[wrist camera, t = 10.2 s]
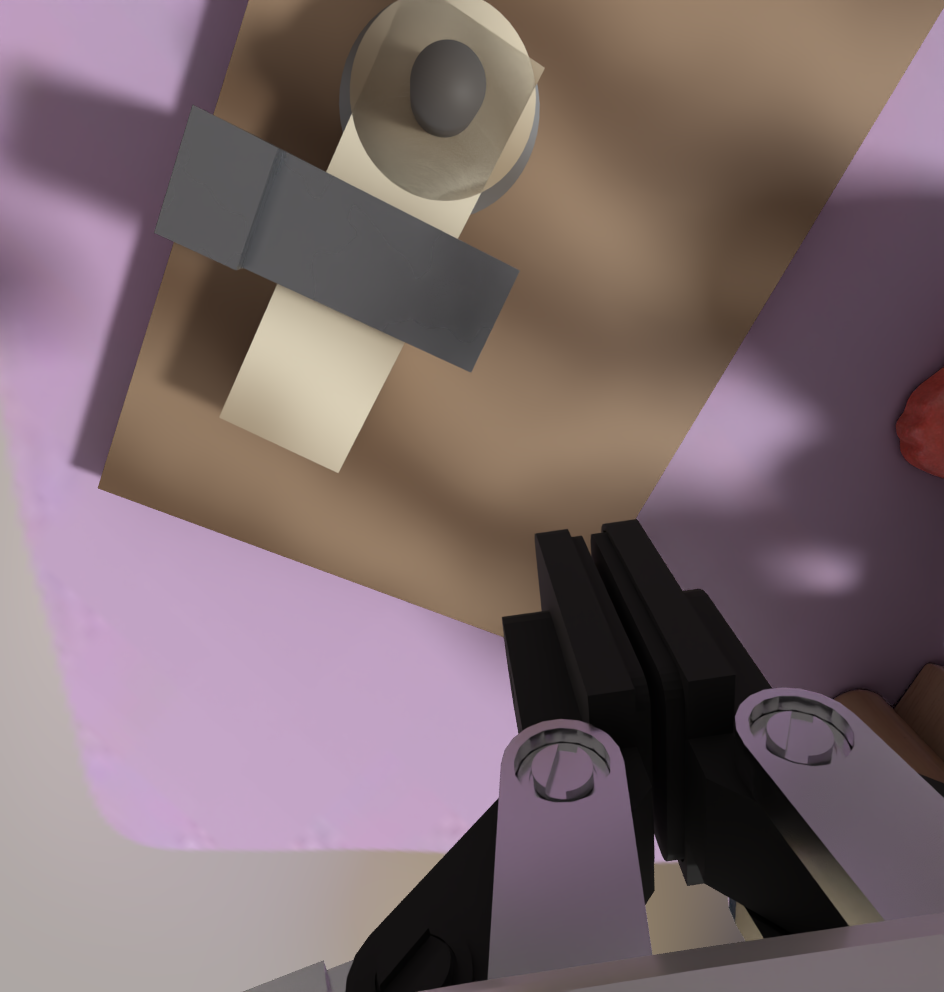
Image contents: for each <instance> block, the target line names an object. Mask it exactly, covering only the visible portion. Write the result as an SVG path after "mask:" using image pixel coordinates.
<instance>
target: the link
mask: <svg viewBox="0 0 944 992" xmlns="http://www.w3.org/2000/svg"><path fill="white" fill-rule="evenodd" d="M544 69H545V68H544V67H543V66H541V65H540V64H538V63H537V62H535V61H534V60H533V59H531V58H530V57H529V56H528V54H527V51H526V49H525V46H524V44H523V42H522V41H521V39H520V37H519V35H518V33H517V32H516V31H515V29H514V28H513V27H512V25H511V24H510V22H509V21H508V20H507V19H506V18H505V17H504V16H503V15H502V14H501V13H500V12H499V11H498V10H496V9H495V8H494V7H493V6H491V5H490V4H489V3H487V2H485V1H484V0H398V1H396V2H394V3H393V4H391V5H390V6H389V7H388V8H387V9H385V10H384V11H383V12H382V13H381V14H380V15H379V16H378V17H377V18H376V19H375V21H374V22H373V23H372V24H371V26H370V27H369V29H368V30H367V32H366V33H365V35H364V37H363V39H362V41H361V43H360V45H359V47H358V50H357V53H356V56H355V58H354V63H353V67H352V72H351V80H350V104H351V112H352V114H351V116H350V119H349V121H348V123H347V126H346V128H345V130H344V132H343V135H342V137H341V139H340V142H339V144H338V146H337V148H336V151H335V153H334V155H333V158H332V160H331V162H330V165H329V167H328V169H327V171H326V172H327V173H329V174H331V175H333V176H335V177H337V178H339V179H341V180H343V181H345V182H347V183H349V184H351V185H353V186H355V187H357V188H359V189H361V190H363V191H365V192H367V193H369V194H371V195H372V196H374V197H376V198H378V199H380V200H382V201H384V202H386V203H388V204H390V205H392V206H394V207H396V208H398V209H400V210H402V211H404V212H406V213H408V214H410V215H412V216H414V217H416V218H418V219H420V220H422V221H424V222H426V223H428V224H430V225H432V226H434V227H436V228H437V229H439V230H441V231H443V232H445V233H447V234H449V235H451V236H453V237H455V238H457V239H458V237H459V235H460V234H461V232H462V230H463V228H464V226H465V224H466V222H467V220H468V218H469V216H470V214H471V212H472V210H473V208H474V206H475V204H476V202H477V200H478V198H479V196H480V194H481V193H482V192H483V191H485V190H487V189H489V188H491V187H492V186H493V185H495V184H496V183H497V182H498V181H500V180H501V179H502V178H503V177H504V176H505V175H506V174H507V173H508V172H509V171H510V170H511V168H512V167H513V166H514V164H515V163H516V162H517V160H518V159H519V157H520V155H521V154H522V152H523V150H524V148H525V146H526V143H527V141H528V139H529V136H530V132H531V129H532V126H533V121H534V115H535V105H536V90H535V86H536V85H537V83H538V81H539V79H540V77H541V75H542V73H543V71H544ZM404 343H405V342H403V341H401V340H399V339H397V338H394V337H392V336H390V335H388V334H386V333H383V332H381V331H379V330H377V329H375V328H373V327H370V326H368V325H366V324H364V323H362V322H360V321H357V320H355V319H353V318H351V317H349V316H347V315H344V314H342V313H340V312H338V311H336V310H334V309H331V308H329V307H327V306H325V305H323V304H321V303H318V302H316V301H314V300H312V299H310V298H307V297H305V296H303V295H301V294H299V293H297V292H294V291H292V290H290V289H288V288H286V287H284V286H281V285H279V284H277V286H276V288H275V291H274V293H273V295H272V297H271V300H270V302H269V304H268V307H267V309H266V311H265V313H264V316H263V318H262V320H261V323H260V325H259V327H258V330H257V332H256V334H255V336H254V339H253V341H252V343H251V346H250V348H249V350H248V352H247V355H246V357H245V359H244V362H243V364H242V366H241V368H240V371H239V373H238V375H237V378H236V380H235V382H234V385H233V387H232V389H231V391H230V394H229V396H228V398H227V401H226V403H225V405H224V407H223V410H222V412H221V414H220V417H219V418H221V419H223V420H225V421H228V422H230V423H232V424H234V425H236V426H238V427H240V428H243V429H245V430H247V431H249V432H251V433H253V434H255V435H258V436H260V437H262V438H264V439H266V440H268V441H270V442H273V443H275V444H277V445H279V446H281V447H283V448H285V449H288V450H290V451H292V452H294V453H296V454H298V455H300V456H303V457H305V458H307V459H309V460H311V461H313V462H315V463H318V464H320V465H322V466H324V467H326V468H328V469H330V470H333V471H335V472H337V473H339V471H340V469H341V467H342V465H343V463H344V461H345V459H346V457H347V455H348V453H349V451H350V449H351V447H352V445H353V443H354V441H355V439H356V437H357V435H358V433H359V432H360V430H361V428H362V426H363V424H364V422H365V420H366V418H367V416H368V414H369V412H370V410H371V408H372V406H373V404H374V402H375V400H376V398H377V396H378V394H379V392H380V390H381V388H382V386H383V384H384V383H385V381H386V379H387V377H388V375H389V373H390V371H391V369H392V367H393V365H394V363H395V361H396V359H397V357H398V355H399V353H400V351H401V349H402V347H403V345H404Z"/></svg>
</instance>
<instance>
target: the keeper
mask: <svg viewBox="0 0 944 992" xmlns="http://www.w3.org/2000/svg"><path fill="white" fill-rule="evenodd" d="M154 233H156V234H158V235H160V236H162V237H164V238H166V239H169V240H171V241H173V242H175V243H177V244H180V245H182V246H184V247H186V248H188V249H190V250H193V251H195V252H197V253H199V254H201V255H204V256H206V257H208V258H210V259H212V260H214V261H217V262H219V263H221V264H223V265H225V266H228V267H230V268H232V269H234V270H239V269H242V268H245V269H247V270H249V271H251V272H253V273H255V274H258V275H260V276H262V277H264V278H266V279H268V280H271V281H273V282H275V283H277V284H279V285H281V286H284V287H286V288H288V289H290V290H292V291H294V292H297V293H299V294H301V295H303V296H305V297H307V298H310V299H312V300H314V301H316V302H318V303H321V304H323V305H325V306H327V307H329V308H331V309H334V310H336V311H338V312H340V313H342V314H344V315H347V316H349V317H351V318H353V319H355V320H357V321H360V322H362V323H364V324H366V325H368V326H370V327H373V328H375V329H377V330H379V331H381V332H383V333H386V334H388V335H390V336H392V337H394V338H397V339H399V340H401V341H403V342H405V343H407V344H410V345H412V346H414V347H416V348H418V349H420V350H423V351H425V352H427V353H429V354H431V355H433V356H436V357H438V358H440V359H442V360H444V361H446V362H449V363H451V364H453V365H455V366H457V367H459V368H462V369H464V370H466V371H468V372H470V373H471V372H472V370H473V368H474V366H475V364H476V362H477V360H478V357H479V355H480V353H481V351H482V349H483V347H484V345H485V343H486V341H487V339H488V336H489V334H490V332H491V330H492V328H493V326H494V324H495V322H496V320H497V318H498V316H499V313H500V311H501V309H502V307H503V305H504V303H505V301H506V299H507V297H508V295H509V293H510V290H511V288H512V286H513V284H514V282H515V280H516V278H517V276H518V274H519V272H520V270H518V269H516V268H514V267H512V266H510V265H508V264H506V263H504V262H502V261H500V260H499V259H497V258H495V257H493V256H491V255H489V254H487V253H485V252H483V251H481V250H479V249H477V248H475V247H473V246H471V245H469V244H467V243H465V242H463V241H461V240H459V239H457V238H455V237H453V236H451V235H449V234H447V233H445V232H443V231H441V230H439V229H437V228H436V227H434V226H432V225H430V224H428V223H426V222H424V221H422V220H420V219H418V218H416V217H414V216H412V215H410V214H408V213H406V212H404V211H402V210H400V209H398V208H396V207H394V206H392V205H390V204H388V203H386V202H384V201H382V200H380V199H378V198H376V197H374V196H372V195H371V194H369V193H367V192H365V191H363V190H361V189H359V188H357V187H355V186H353V185H351V184H349V183H347V182H345V181H343V180H341V179H339V178H337V177H335V176H333V175H331V174H329V173H327V172H325V171H323V170H321V169H319V168H317V167H315V166H313V165H311V164H310V163H309V162H307V161H305V160H303V159H301V158H299V157H297V156H295V155H293V154H291V153H289V152H287V151H285V150H283V149H281V148H279V147H277V146H275V145H273V144H271V143H269V142H267V141H265V140H263V139H261V138H259V137H257V136H255V135H253V134H251V133H250V132H248V131H246V130H244V129H241V128H239V127H237V126H235V125H233V124H231V123H229V122H227V121H225V120H223V119H221V118H219V117H217V116H215V115H213V114H211V113H209V112H207V111H205V110H203V109H201V108H199V107H197V106H194V105H192V108H191V112H190V115H189V118H188V122H187V125H186V128H185V132H184V135H183V138H182V142H181V145H180V149H179V152H178V155H177V159H176V162H175V165H174V169H173V172H172V175H171V179H170V182H169V185H168V189H167V192H166V195H165V199H164V202H163V205H162V209H161V212H160V215H159V219H158V222H157V225H156V229H155V232H154Z"/></svg>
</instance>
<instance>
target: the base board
mask: <svg viewBox="0 0 944 992" xmlns="http://www.w3.org/2000/svg"><path fill="white" fill-rule="evenodd" d="M396 1H398V0H249V1H248V4H247V8H246V11H245V14H244V17H243V21H242V24H241V27H240V30H239V33H238V37H237V40H236V43H235V46H234V50H233V53H232V56H231V59H230V63H229V66H228V69H227V72H226V75H225V79H224V82H223V85H222V88H221V92H220V95H219V98H218V101H217V104H216V108H215V111H214V114H213V115H215V116H217V117H219V118H221V119H223V120H225V121H227V122H229V123H231V124H233V125H235V126H237V127H239V128H241V129H244V130H246V131H248V132H250V133H251V134H253V135H255V136H257V137H259V138H261V139H263V140H265V141H267V142H269V143H271V144H273V145H275V146H277V147H279V148H281V149H283V150H285V151H287V152H289V153H291V154H293V155H295V156H297V157H299V158H301V159H303V160H305V161H307V162H309V163H310V164H311V165H313V166H315V167H317V168H319V169H321V170H323V171H325V172H326V171H327V169H328V167H329V165H330V162H331V160H332V158H333V155H334V153H335V151H336V148H337V146H338V144H339V142H340V139H341V137H342V135H343V132H344V130H345V128H346V126H347V123H348V121H349V119H350V116H351V114H352V112H351V104H350V80H351V72H352V67H353V63H354V58H355V56H356V53H357V50H358V47H359V45H360V43H361V41H362V39H363V37H364V35H365V33H366V32H367V30H368V29H369V27H370V26H371V24H372V23H373V22H374V21H375V19H376V18H377V17H378V16H379V15H380V14H381V13H382V12H383V11H384V10H385V9H387V8H388V7H389V6H390V5H391V4H393V3H394V2H396ZM484 1H485V2H487V3H489V4H490V5H491V6H493V7H494V8H495V9H496V10H498V11H499V12H500V13H501V14H502V15H503V16H504V17H505V18H506V19H507V20H508V21H509V22H510V24H511V25H512V27H513V28H514V29H515V31H516V32H517V33H518V35H519V37H520V39H521V41H522V42H523V44H524V46H525V49H526V51H527V54H528V56H529V57H530V58H531V59H533V60H534V61H535V62H537V63H538V64H540V65H541V66H543V67H544V68H545V69H544V71H543V73H542V75H541V77H540V79H539V81H538V83H537V85H536V86H535V90H536V105H535V115H534V121H533V126H532V129H531V132H530V136H529V139H528V141H527V143H526V146H525V148H524V150H523V152H522V154H521V155H520V157H519V159H518V160H517V162H516V163H515V164H514V166H513V167H512V168H511V170H510V171H509V172H508V173H507V174H506V175H505V176H504V177H503V178H502V179H501V180H500V181H498V182H497V183H496V184H495V185H493V186H492V187H491V188H489V189H487V190H485V191H483V192H482V193H481V194H480V196H479V198H478V200H477V202H476V204H475V206H474V208H473V210H472V212H471V214H470V216H469V218H468V220H467V222H466V224H465V226H464V228H463V230H462V232H461V234H460V235H459V237H458V239H459V240H461V241H463V242H465V243H467V244H469V245H471V246H473V247H475V248H477V249H479V250H481V251H483V252H485V253H487V254H489V255H491V256H493V257H495V258H497V259H499V260H500V261H502V262H504V263H506V264H508V265H510V266H512V267H514V268H516V269H518V270H520V272H519V274H518V276H517V278H516V280H515V282H514V284H513V286H512V288H511V290H510V293H509V295H508V297H507V299H506V301H505V303H504V305H503V307H502V309H501V311H500V313H499V316H498V318H497V320H496V322H495V324H494V326H493V328H492V330H491V332H490V334H489V336H488V339H487V341H486V343H485V345H484V347H483V349H482V351H481V353H480V355H479V357H478V360H477V362H476V364H475V366H474V368H473V370H472V372H471V373H470V372H468V371H466V370H464V369H462V368H459V367H457V366H455V365H453V364H451V363H449V362H446V361H444V360H442V359H440V358H438V357H436V356H433V355H431V354H429V353H427V352H425V351H423V350H420V349H418V348H416V347H414V346H412V345H410V344H407V343H404V345H403V347H402V349H401V351H400V353H399V355H398V357H397V359H396V361H395V363H394V365H393V367H392V369H391V371H390V373H389V375H388V377H387V379H386V381H385V383H384V384H383V386H382V388H381V390H380V392H379V394H378V396H377V398H376V400H375V402H374V404H373V406H372V408H371V410H370V412H369V414H368V416H367V418H366V420H365V422H364V424H363V426H362V428H361V430H360V432H359V433H358V435H357V437H356V439H355V441H354V443H353V445H352V447H351V449H350V451H349V453H348V455H347V457H346V459H345V461H344V463H343V465H342V467H341V469H340V471H339V473H337V472H335V471H333V470H330V469H328V468H326V467H324V466H322V465H320V464H318V463H315V462H313V461H311V460H309V459H307V458H305V457H303V456H300V455H298V454H296V453H294V452H292V451H290V450H288V449H285V448H283V447H281V446H279V445H277V444H275V443H273V442H270V441H268V440H266V439H264V438H262V437H260V436H258V435H255V434H253V433H251V432H249V431H247V430H245V429H243V428H240V427H238V426H236V425H234V424H232V423H230V422H228V421H225V420H223V419H221V418H219V417H220V414H221V412H222V410H223V407H224V405H225V403H226V401H227V398H228V396H229V394H230V391H231V389H232V387H233V385H234V382H235V380H236V378H237V375H238V373H239V371H240V368H241V366H242V364H243V362H244V359H245V357H246V355H247V352H248V350H249V348H250V346H251V343H252V341H253V339H254V336H255V334H256V332H257V330H258V327H259V325H260V323H261V320H262V318H263V316H264V313H265V311H266V309H267V307H268V304H269V302H270V300H271V297H272V295H273V293H274V291H275V288H276V286H277V283H275V282H273V281H271V280H268V279H266V278H264V277H262V276H260V275H258V274H255V273H253V272H251V271H249V270H247V269H245V268H242V269H239V270H234V269H232V268H230V267H228V266H225V265H223V264H221V263H219V262H217V261H214V260H212V259H210V258H208V257H206V256H204V255H201V254H199V253H197V252H195V251H193V250H190V249H188V248H186V247H184V246H182V245H180V244H177V243H175V242H174V243H173V247H172V250H171V253H170V256H169V260H168V263H167V266H166V269H165V272H164V276H163V279H162V282H161V285H160V289H159V292H158V295H157V298H156V301H155V305H154V308H153V311H152V314H151V318H150V321H149V324H148V327H147V331H146V334H145V337H144V340H143V343H142V347H141V350H140V353H139V356H138V360H137V363H136V366H135V369H134V373H133V376H132V379H131V382H130V385H129V389H128V392H127V395H126V398H125V402H124V405H123V408H122V411H121V415H120V418H119V421H118V424H117V427H116V431H115V434H114V437H113V440H112V444H111V447H110V450H109V453H108V457H107V460H106V463H105V466H104V469H103V473H102V476H101V479H100V482H99V486H98V489H101V490H104V491H107V492H109V493H112V494H115V495H118V496H120V497H123V498H126V499H128V500H131V501H134V502H137V503H139V504H142V505H145V506H148V507H150V508H153V509H156V510H158V511H161V512H164V513H167V514H169V515H172V516H175V517H178V518H180V519H183V520H186V521H188V522H191V523H194V524H197V525H199V526H202V527H205V528H207V529H210V530H213V531H216V532H218V533H221V534H224V535H227V536H229V537H232V538H235V539H237V540H240V541H243V542H246V543H248V544H251V545H254V546H257V547H259V548H262V549H265V550H267V551H270V552H273V553H276V554H278V555H281V556H284V557H287V558H289V559H292V560H295V561H297V562H300V563H303V564H306V565H308V566H311V567H314V568H317V569H319V570H322V571H325V572H327V573H330V574H333V575H336V576H338V577H341V578H344V579H347V580H349V581H352V582H355V583H357V584H360V585H363V586H366V587H368V588H371V589H374V590H376V591H379V592H382V593H385V594H387V595H390V596H393V597H396V598H398V599H401V600H404V601H406V602H409V603H412V604H415V605H417V606H420V607H423V608H426V609H428V610H431V611H434V612H436V613H439V614H442V615H445V616H447V617H450V618H453V619H456V620H458V621H461V622H464V623H466V624H469V625H472V626H475V627H477V628H480V629H483V630H486V631H488V632H491V633H494V634H496V635H499V636H502V637H504V633H503V625H502V617H505V616H512V615H519V614H526V613H533V612H540V611H542V610H541V600H540V590H539V580H538V570H537V560H536V551H535V533H542V532H549V531H556V530H563V529H568V530H569V532H570V535H571V537H575V536H582V537H583V539H584V541H585V543H586V545H587V547H588V550H589V552H590V554H591V543H590V538H591V534H596V533H601V527H602V524H605V523H612V522H619V521H626V520H633V519H636V517H637V516H638V514H639V512H640V511H641V509H642V507H643V506H644V504H645V502H646V501H647V499H648V497H649V496H650V494H651V492H652V491H653V489H654V487H655V486H656V484H657V482H658V481H659V479H660V477H661V476H662V474H663V472H664V471H665V469H666V467H667V466H668V464H669V462H670V461H671V459H672V457H673V456H674V454H675V452H676V451H677V449H678V448H679V446H680V444H681V443H682V441H683V439H684V438H685V436H686V434H687V433H688V431H689V429H690V428H691V426H692V424H693V423H694V421H695V419H696V418H697V416H698V414H699V413H700V411H701V409H702V408H703V406H704V404H705V403H706V401H707V399H708V398H709V396H710V394H711V393H712V391H713V389H714V388H715V386H716V384H717V383H718V381H719V380H720V378H721V376H722V375H723V373H724V371H725V370H726V368H727V366H728V365H729V363H730V361H731V360H732V358H733V356H734V355H735V353H736V351H737V350H738V348H739V346H740V345H741V343H742V341H743V340H744V338H745V336H746V335H747V333H748V331H749V330H750V328H751V326H752V325H753V323H754V321H755V320H756V318H757V316H758V315H759V313H760V312H761V310H762V308H763V307H764V305H765V303H766V302H767V300H768V298H769V297H770V295H771V293H772V292H773V290H774V288H775V287H776V285H777V283H778V282H779V280H780V278H781V277H782V275H783V273H784V272H785V270H786V268H787V267H788V265H789V263H790V262H791V260H792V258H793V257H794V255H795V253H796V252H797V250H798V248H799V247H800V245H801V244H802V242H803V240H804V239H805V237H806V235H807V234H808V232H809V230H810V229H811V227H812V225H813V224H814V222H815V220H816V219H817V217H818V215H819V214H820V212H821V210H822V209H823V207H824V205H825V204H826V202H827V200H828V199H829V197H830V195H831V194H832V192H833V190H834V189H835V187H836V185H837V184H838V182H839V180H840V179H841V177H842V176H843V174H844V172H845V171H846V169H847V167H848V166H849V164H850V162H851V161H852V159H853V157H854V156H855V154H856V152H857V151H858V149H859V147H860V146H861V144H862V142H863V141H864V139H865V137H866V136H867V134H868V132H869V131H870V129H871V127H872V126H873V124H874V122H875V121H876V119H877V117H878V116H879V114H880V112H881V111H882V109H883V108H884V106H885V104H886V103H887V101H888V99H889V98H890V96H891V94H892V93H893V91H894V89H895V88H896V86H897V84H898V83H899V81H900V79H901V78H902V76H903V74H904V73H905V71H906V69H907V68H908V66H909V64H910V63H911V61H912V59H913V58H914V56H915V54H916V53H917V51H918V49H919V48H920V46H921V44H922V43H923V41H924V40H925V38H926V36H927V35H928V33H929V31H930V30H931V28H932V26H933V25H934V23H935V21H936V20H937V18H938V16H939V15H940V13H941V11H942V10H943V8H944V0H484Z"/></svg>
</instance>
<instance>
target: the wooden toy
mask: <svg viewBox="0 0 944 992" xmlns="http://www.w3.org/2000/svg"><path fill="white" fill-rule="evenodd" d="M833 700H835V701H838V702H840V703H841V704H842V705H844V706H845V707H846V708H848V709H849V710H850V711H852V712H853V713H854V714H856V715H857V716H858V717H859V718H860V719H861V720H862V721H863V722H864V723H865V724H866V725H867V726H868V727H869V728H870V729H871V730H872V731H874V732H875V733H876V734H877V735H878V736H879V737H880V738H881V739H882V740H883V741H884V742H885V743H886V744H887V745H888V746H889V747H890V748H891V749H893V750H894V751H895V752H896V753H897V754H898V755H899V756H900V757H901V758H902V759H903V760H904V761H905V762H906V763H907V764H908V765H909V766H911V767H912V768H913V769H914V770H915V771H916V772H917V773H919V774H921V775H924V776H927V777H929V778H932V779H934V780H937V781H940V782H942V783H944V667H942V666H939V665H935V664H931V663H928V664H926V665H925V666H924V667H923V669H922V670H921V671H920V673H919V674H918V676H917V677H916V679H915V680H914V681H913V683H912V684H911V686H910V687H909V688H908V690H907V691H906V693H905V694H904V696H903V697H902V698H901V700H900V701H899V703H898V704H897V705H896V707H895V708H894V709H893V708H892V707H891V706H890V705H889V704H888V703H887V702H886V701H885V700H884V699H883V698H882V697H881V696H879V695H877V694H875V693H873V692H871V691H868V690H860V689H858V690H852V691H848V692H845V693H843V694H841V695H839V696H837V697H836V698H835V699H833Z"/></svg>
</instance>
